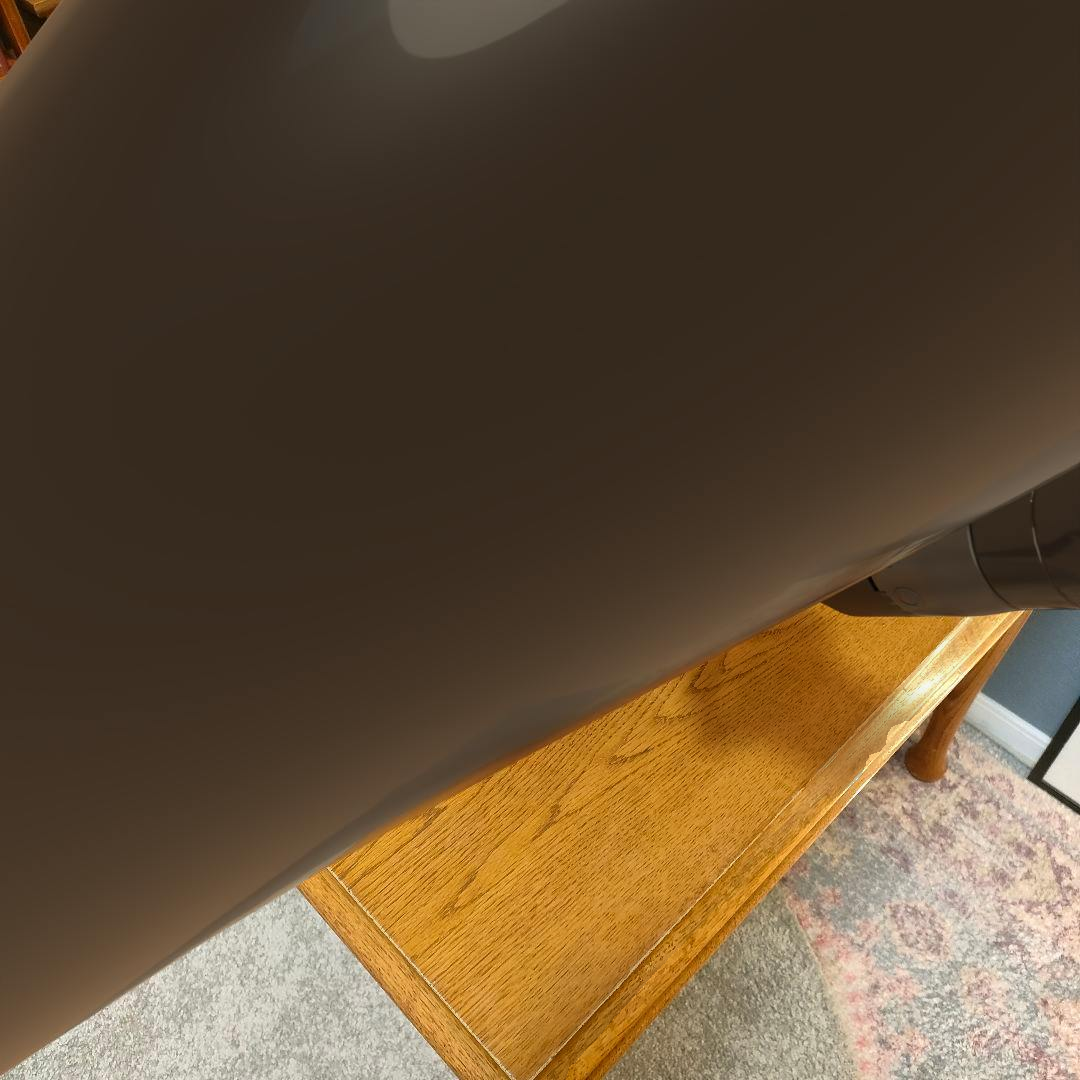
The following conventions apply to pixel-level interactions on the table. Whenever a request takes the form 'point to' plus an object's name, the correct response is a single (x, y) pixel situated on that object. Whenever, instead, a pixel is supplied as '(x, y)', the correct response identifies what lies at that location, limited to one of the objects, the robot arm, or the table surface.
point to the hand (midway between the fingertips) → (687, 555)
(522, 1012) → the table surface
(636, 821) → the table surface
